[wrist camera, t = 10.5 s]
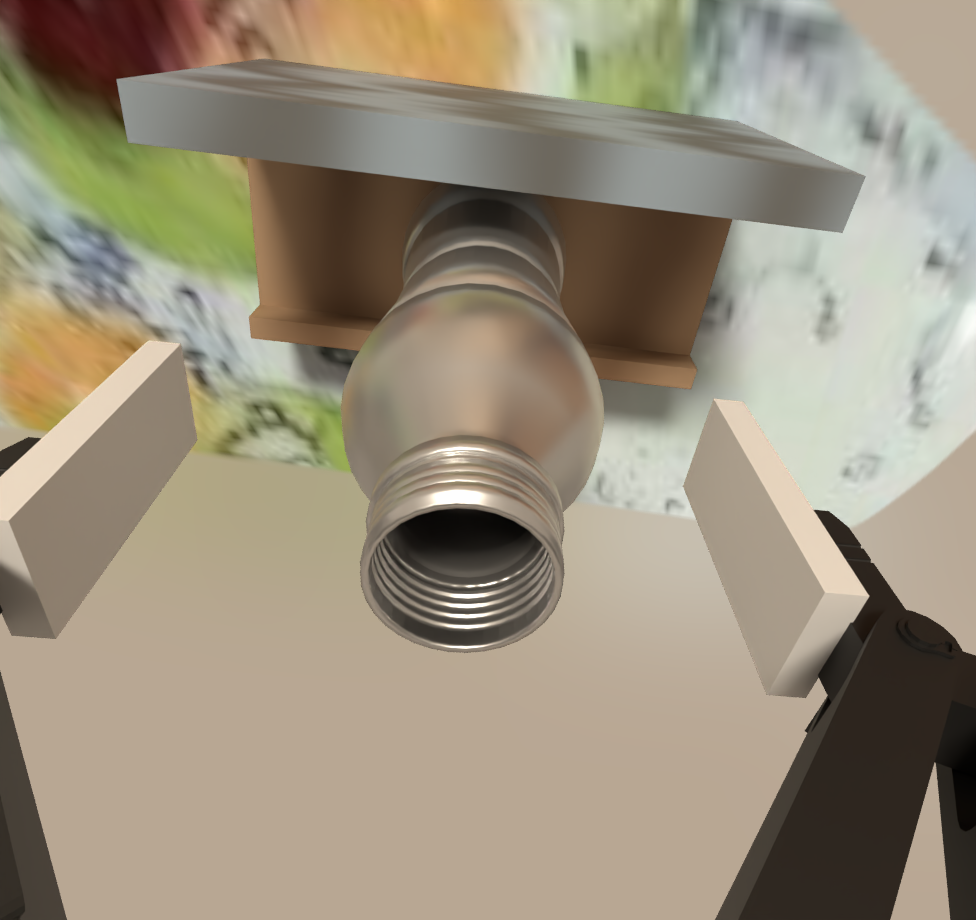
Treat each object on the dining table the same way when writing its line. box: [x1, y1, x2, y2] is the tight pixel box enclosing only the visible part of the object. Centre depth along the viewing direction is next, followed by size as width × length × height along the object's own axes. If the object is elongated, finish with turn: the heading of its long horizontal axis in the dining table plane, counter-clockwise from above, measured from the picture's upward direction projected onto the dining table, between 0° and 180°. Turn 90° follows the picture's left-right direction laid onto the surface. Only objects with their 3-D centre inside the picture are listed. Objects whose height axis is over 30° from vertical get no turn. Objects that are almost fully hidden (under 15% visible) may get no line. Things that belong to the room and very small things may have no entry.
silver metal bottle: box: [341, 183, 604, 653], centre depth 19 cm, size 6×7×20 cm
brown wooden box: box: [116, 59, 866, 389], centre depth 25 cm, size 20×10×12 cm, turn 84°
